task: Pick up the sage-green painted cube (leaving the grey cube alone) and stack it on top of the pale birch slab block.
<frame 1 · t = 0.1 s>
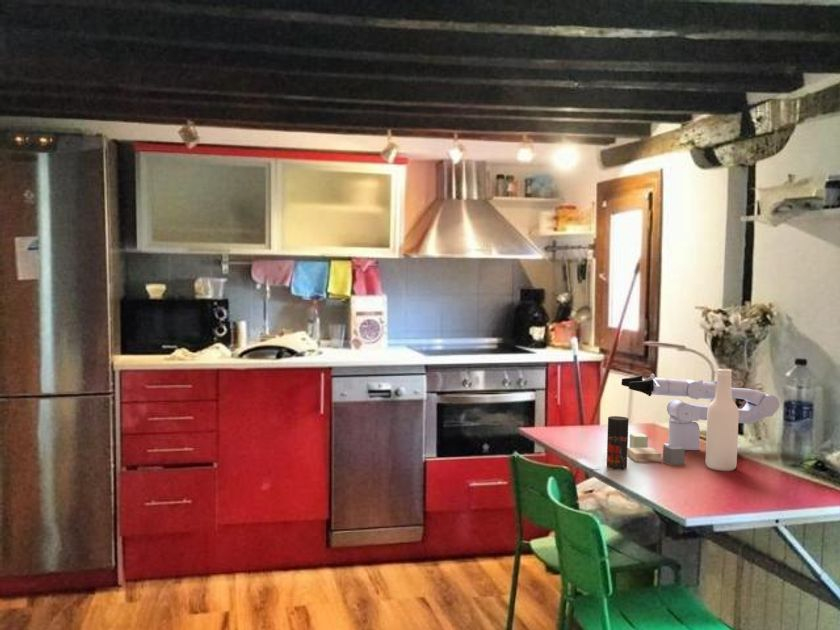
hand: (625, 383, 254), 22 cm above the table, fingers open, 7 cm apart
birch slab: (643, 458, 241), on the table
sage cube: (638, 450, 252), on the table
alcohol: (720, 468, 231), on the table
grey cube: (673, 463, 236), on the table
deodorant: (616, 467, 230), on the table
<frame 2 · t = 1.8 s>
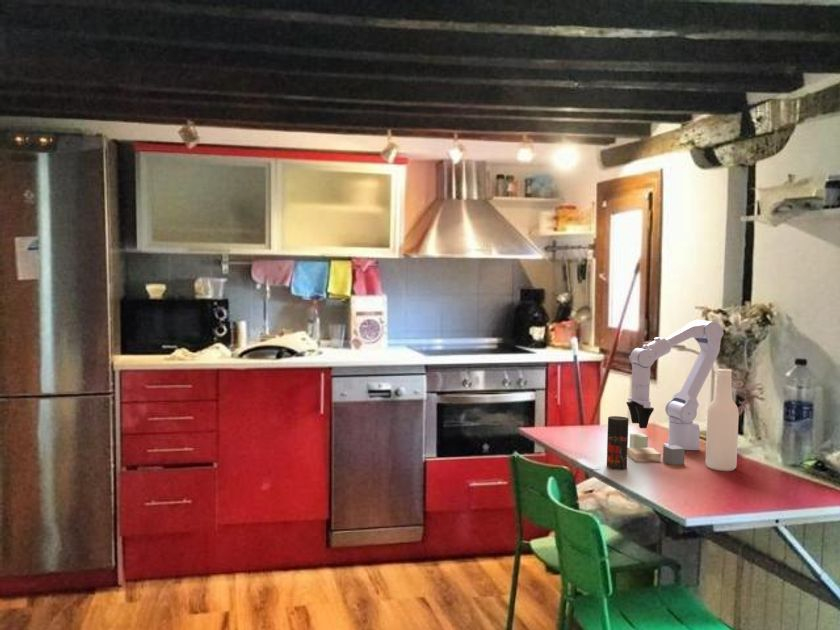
hand: (639, 425, 252), 8 cm above the table, fingers open, 7 cm apart
nothing on the table moved.
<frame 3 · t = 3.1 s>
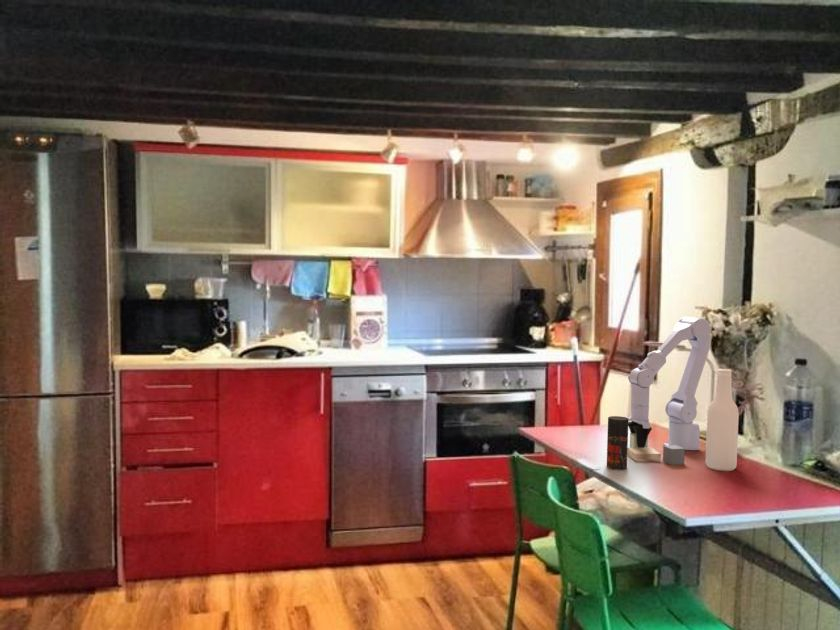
hand: (638, 445, 252), 1 cm above the table, fingers closed on sage cube, 4 cm apart
sage cube: (638, 449, 252), on the table, touching gripper
everything else where it was.
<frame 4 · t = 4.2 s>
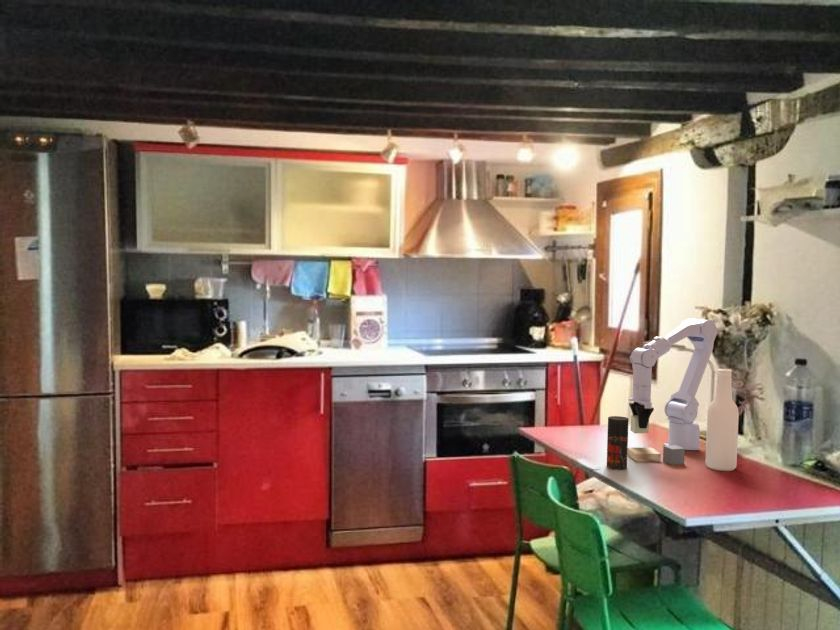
hand: (640, 426, 249), 8 cm above the table, fingers closed on sage cube, 4 cm apart
sage cube: (639, 431, 249), point 7 cm above the table, touching gripper
everything else where it was.
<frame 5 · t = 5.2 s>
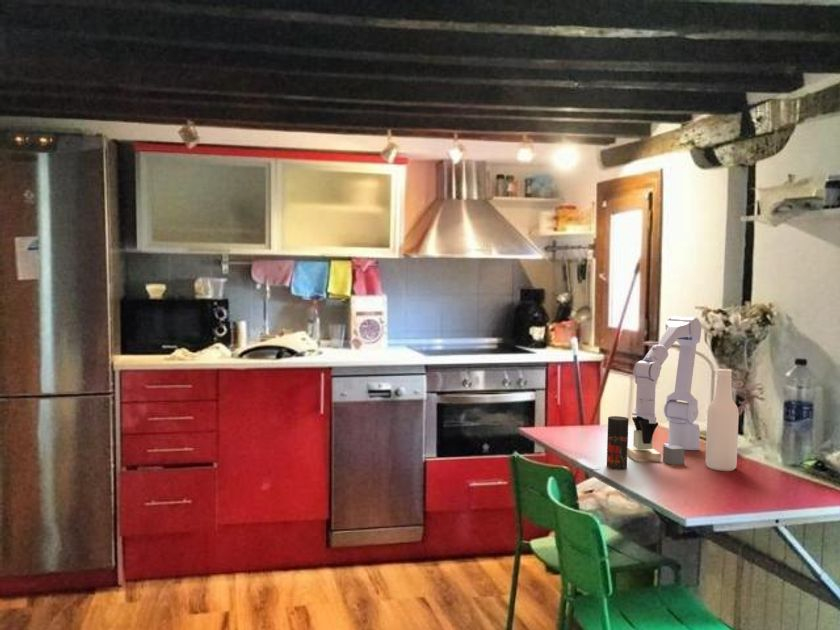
hand: (644, 441, 241), 5 cm above the table, fingers closed on sage cube, 4 cm apart
sage cube: (642, 447, 241), point 3 cm above the table, touching gripper
everything else where it was.
when the fingers open (5 cm above the table, at t = 5.6 s): sage cube stays where it is, resting on birch slab.
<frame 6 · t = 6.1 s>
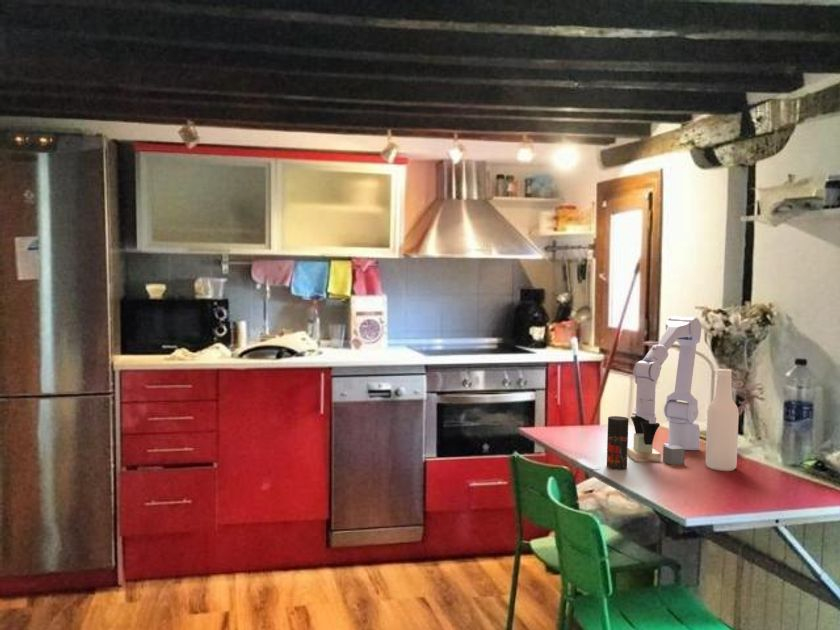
hand: (644, 441, 241), 5 cm above the table, fingers open, 7 cm apart
sage cube: (642, 450, 241), point 2 cm above the table, touching birch slab
everything else where it was.
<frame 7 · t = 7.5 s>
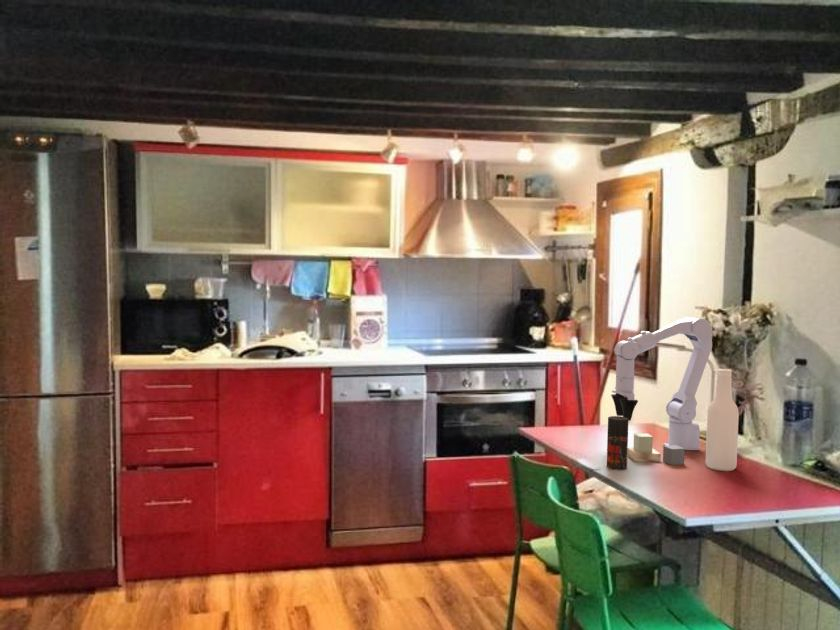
hand: (623, 418, 253), 10 cm above the table, fingers open, 7 cm apart
nothing on the table moved.
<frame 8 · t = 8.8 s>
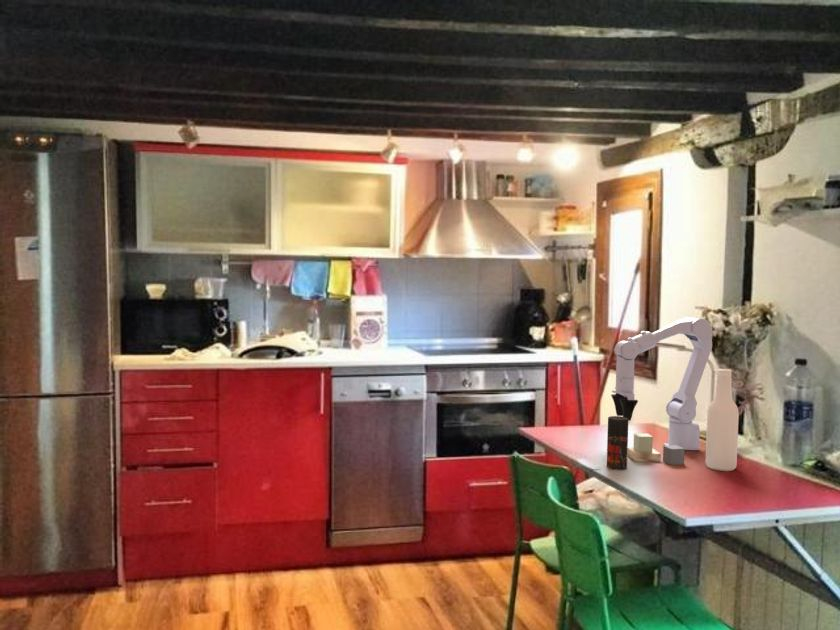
hand: (623, 418, 253), 10 cm above the table, fingers open, 7 cm apart
nothing on the table moved.
at the end: sage cube 0.4 cm off-centre on the birch slab, point 2.4 cm above the birch slab's base; sage cube tilted 0°; the gripper is holding nothing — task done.
